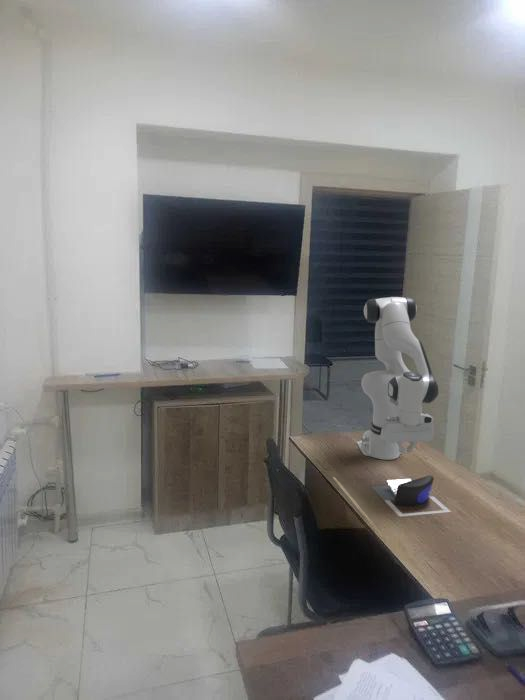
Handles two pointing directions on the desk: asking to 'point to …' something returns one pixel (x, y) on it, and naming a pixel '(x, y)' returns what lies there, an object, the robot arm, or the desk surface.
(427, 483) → the leaning round-cornered charcoal block
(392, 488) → the light grey rectangular plate
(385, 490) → the mounting board
